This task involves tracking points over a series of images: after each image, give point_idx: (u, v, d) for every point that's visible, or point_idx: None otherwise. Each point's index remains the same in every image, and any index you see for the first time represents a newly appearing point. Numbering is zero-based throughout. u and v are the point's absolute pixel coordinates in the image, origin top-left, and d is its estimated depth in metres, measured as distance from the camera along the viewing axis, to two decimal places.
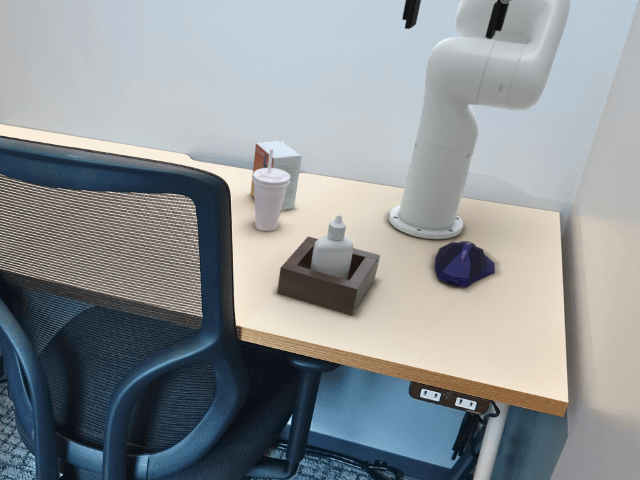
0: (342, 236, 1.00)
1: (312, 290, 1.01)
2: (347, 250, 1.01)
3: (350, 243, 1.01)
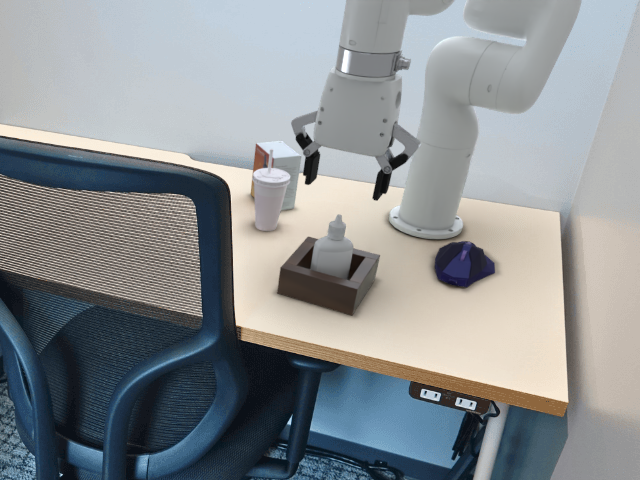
0: (342, 236, 1.00)
1: (312, 290, 1.01)
2: (347, 250, 1.01)
3: (350, 243, 1.01)
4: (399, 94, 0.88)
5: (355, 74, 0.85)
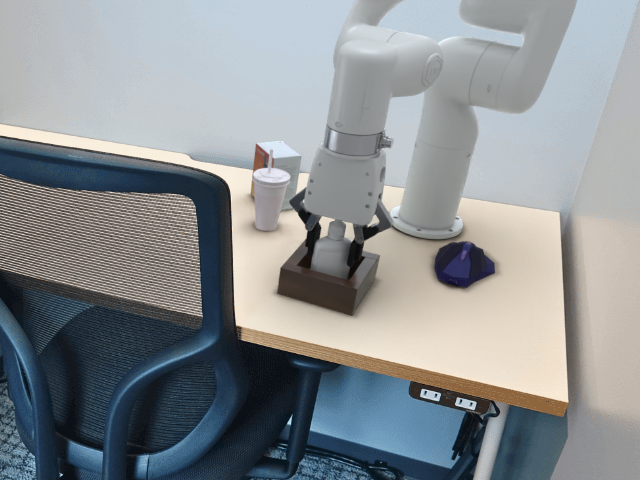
0: (342, 236, 1.00)
1: (312, 290, 1.01)
2: (347, 250, 1.01)
3: (350, 243, 1.01)
4: (383, 168, 0.94)
5: (341, 153, 0.91)
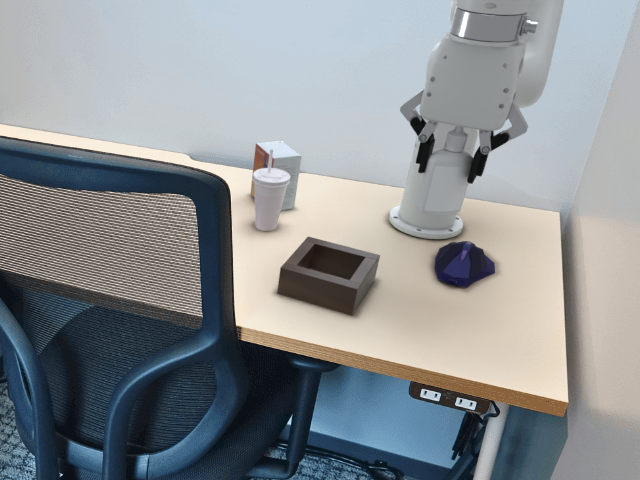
0: (463, 147, 0.87)
1: (312, 290, 1.01)
2: (468, 164, 0.88)
3: (471, 156, 0.88)
4: (521, 61, 0.80)
5: (476, 39, 0.77)
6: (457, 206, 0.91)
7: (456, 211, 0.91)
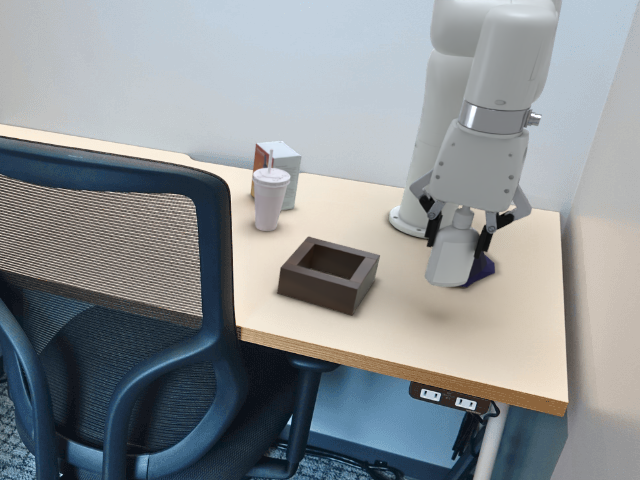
0: (470, 225, 0.91)
1: (312, 290, 1.01)
2: (474, 240, 0.92)
3: (477, 233, 0.92)
4: (525, 149, 0.85)
5: (483, 131, 0.82)
6: (464, 278, 0.95)
7: (463, 282, 0.96)
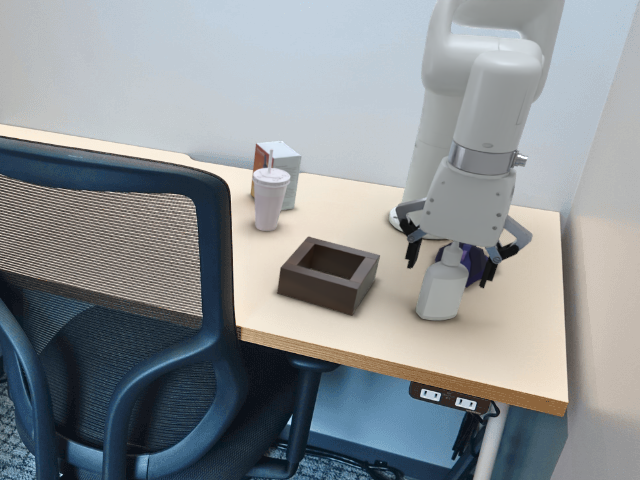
0: (458, 262, 0.94)
1: (312, 290, 1.01)
2: (463, 277, 0.95)
3: (466, 270, 0.95)
4: (512, 187, 0.88)
5: (472, 171, 0.85)
6: (453, 312, 0.98)
7: (452, 316, 0.99)
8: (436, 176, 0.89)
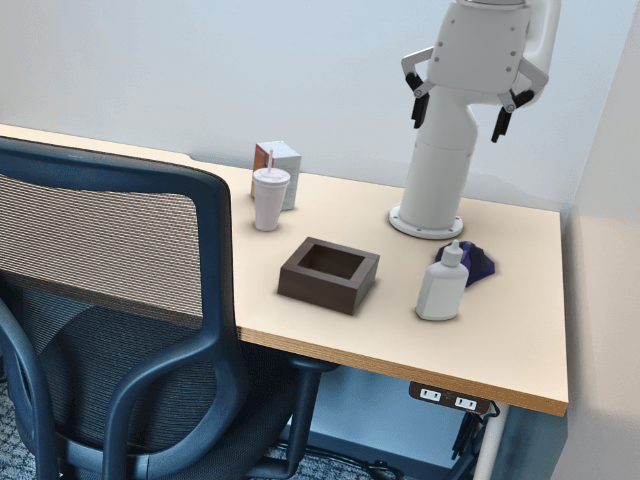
0: (458, 262, 0.94)
1: (312, 290, 1.01)
2: (463, 277, 0.95)
3: (466, 270, 0.95)
4: (527, 24, 0.81)
5: (485, 2, 0.78)
6: (453, 312, 0.98)
7: (452, 316, 0.99)
8: (445, 16, 0.83)
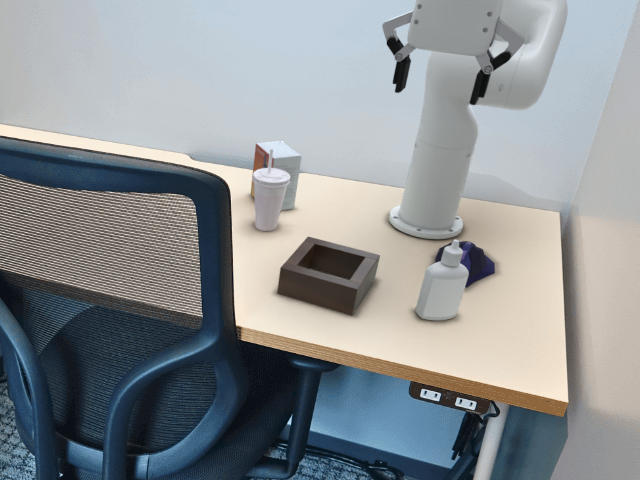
0: (458, 262, 0.94)
1: (312, 290, 1.01)
2: (463, 277, 0.95)
3: (466, 270, 0.95)
4: None
5: None
6: (453, 312, 0.98)
7: (452, 316, 0.99)
8: None
